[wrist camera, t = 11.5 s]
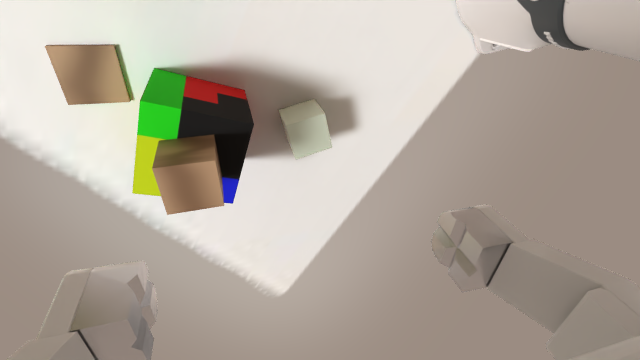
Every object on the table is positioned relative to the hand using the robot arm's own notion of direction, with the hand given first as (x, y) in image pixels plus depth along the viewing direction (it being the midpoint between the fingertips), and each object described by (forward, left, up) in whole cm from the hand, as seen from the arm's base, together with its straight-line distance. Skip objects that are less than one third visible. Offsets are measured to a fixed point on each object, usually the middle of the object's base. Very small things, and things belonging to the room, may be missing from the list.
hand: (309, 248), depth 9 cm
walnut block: (+5, +11, -24) cm, 27 cm away
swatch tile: (+15, +5, -34) cm, 38 cm away
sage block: (-8, +12, -34) cm, 37 cm away
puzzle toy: (+5, +11, -34) cm, 36 cm away
